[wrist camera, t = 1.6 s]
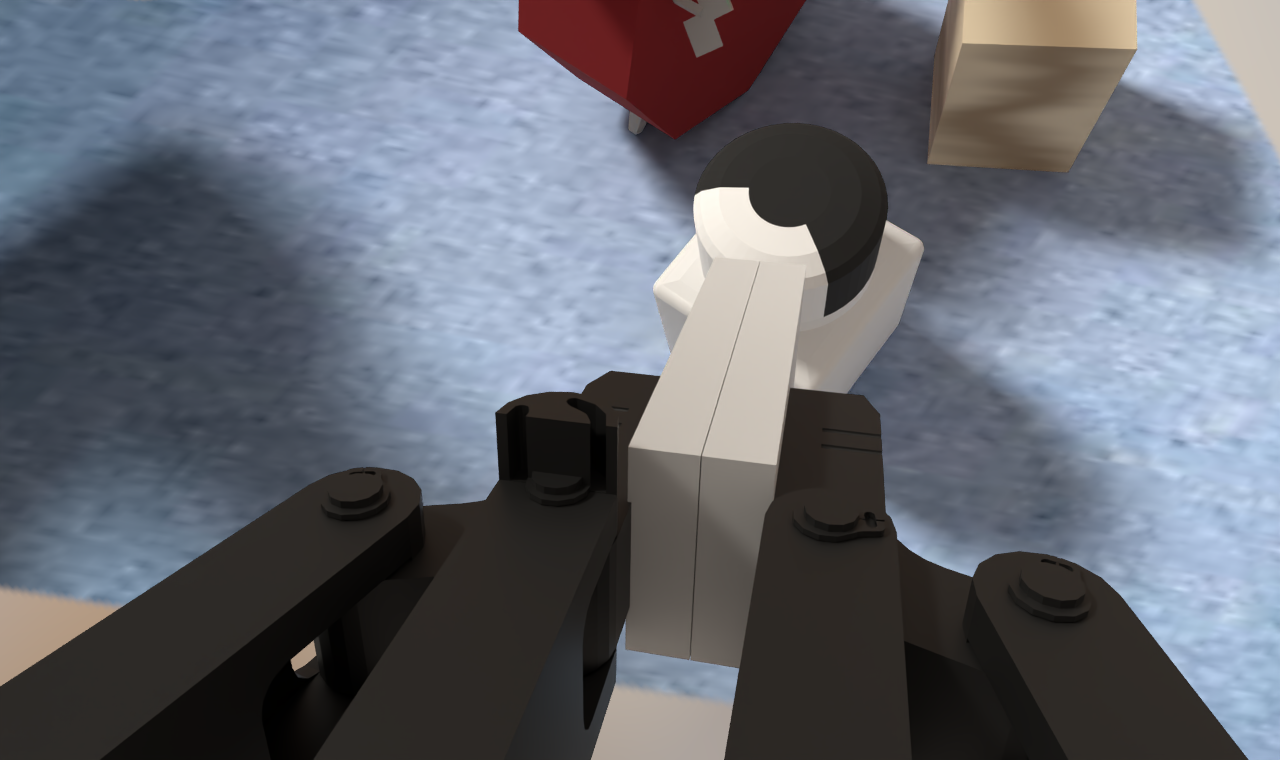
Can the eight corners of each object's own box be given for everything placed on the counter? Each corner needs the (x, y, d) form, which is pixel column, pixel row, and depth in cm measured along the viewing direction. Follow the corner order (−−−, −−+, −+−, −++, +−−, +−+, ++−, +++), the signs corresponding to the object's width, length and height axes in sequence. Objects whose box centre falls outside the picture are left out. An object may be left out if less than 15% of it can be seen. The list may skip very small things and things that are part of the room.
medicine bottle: (765, 237, 40) (763, 58, 29) (902, 321, 38) (956, 163, 27) (668, 357, 39) (627, 218, 28) (804, 451, 37) (819, 342, 26)
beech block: (926, 164, 41) (962, 42, 33) (934, 55, 42) (969, -83, 35) (1067, 172, 39) (1137, 49, 32) (1068, 61, 41) (1134, -81, 34)
